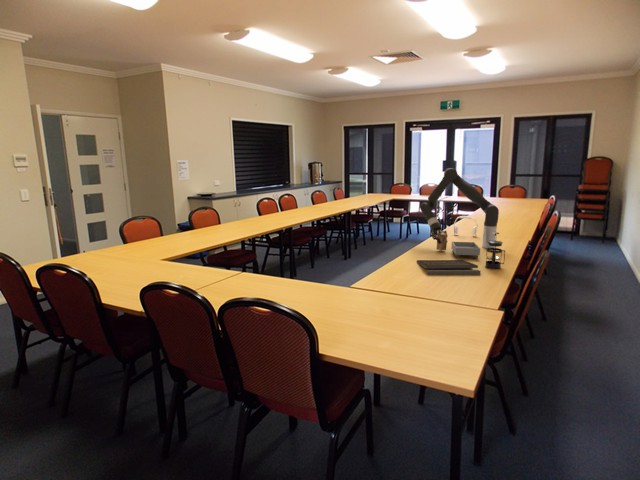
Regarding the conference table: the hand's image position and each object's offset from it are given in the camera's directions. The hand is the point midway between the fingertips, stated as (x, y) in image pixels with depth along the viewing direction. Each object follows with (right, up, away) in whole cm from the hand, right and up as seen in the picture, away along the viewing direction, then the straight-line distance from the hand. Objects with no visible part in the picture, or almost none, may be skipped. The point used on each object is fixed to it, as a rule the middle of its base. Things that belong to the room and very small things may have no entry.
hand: (443, 243), depth 305 cm
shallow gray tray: (+12, -9, -11) cm, 19 cm away
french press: (+20, -16, -41) cm, 48 cm away
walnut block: (-1, -5, +3) cm, 6 cm away
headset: (+37, +6, +59) cm, 70 cm away
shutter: (-10, -17, -42) cm, 46 cm away
